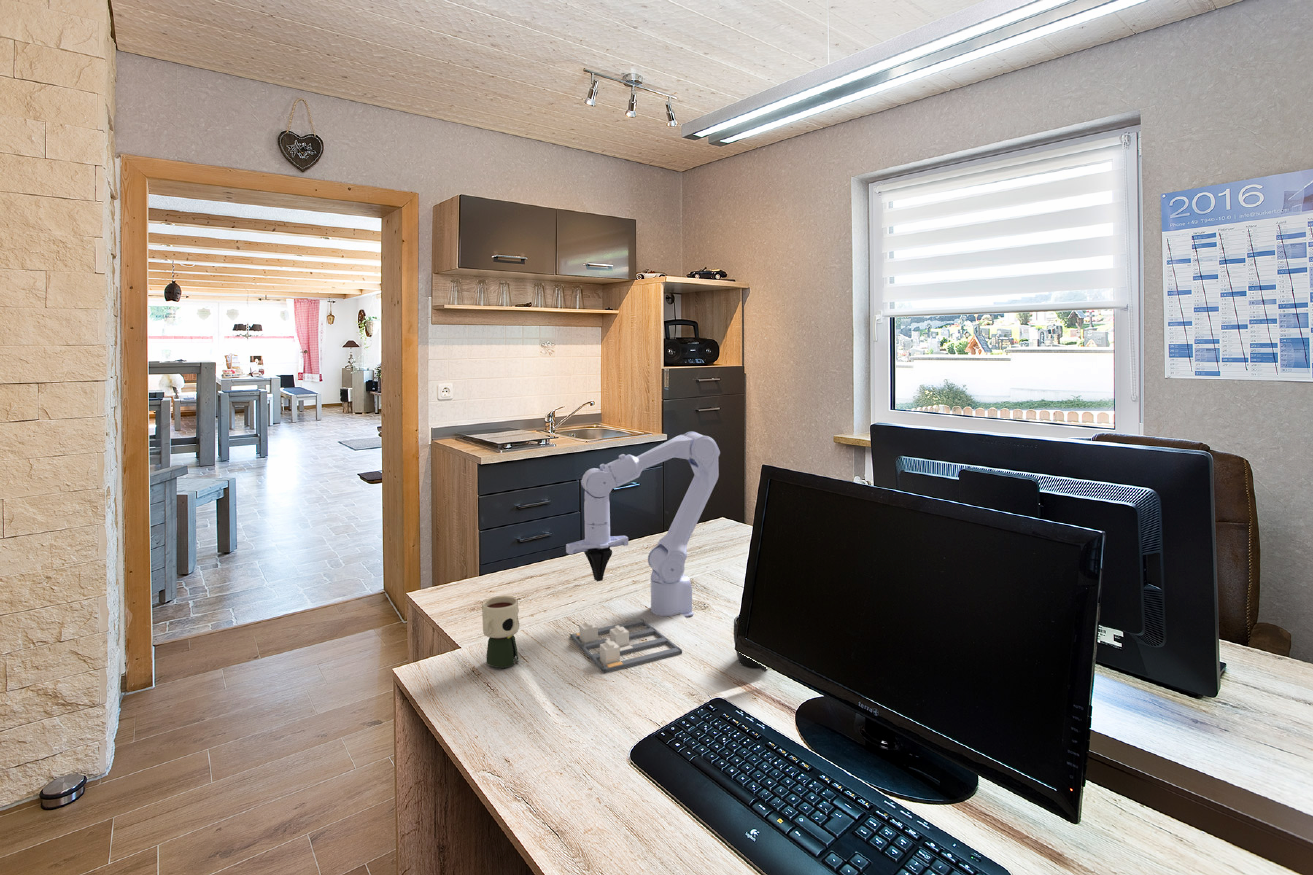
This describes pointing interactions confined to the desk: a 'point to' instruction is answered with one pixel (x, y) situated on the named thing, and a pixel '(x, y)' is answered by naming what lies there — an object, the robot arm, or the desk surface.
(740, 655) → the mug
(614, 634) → the tab
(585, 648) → the switch bank
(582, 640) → the tab
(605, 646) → the tab
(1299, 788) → the desk surface
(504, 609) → the character mug
